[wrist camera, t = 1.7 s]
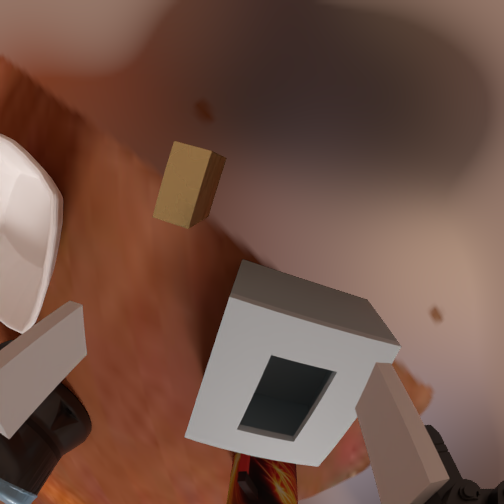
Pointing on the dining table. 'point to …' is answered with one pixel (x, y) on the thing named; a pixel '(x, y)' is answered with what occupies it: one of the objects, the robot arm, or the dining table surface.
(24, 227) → the bowl
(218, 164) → the token
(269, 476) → the mug
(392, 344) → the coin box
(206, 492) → the dining table surface
